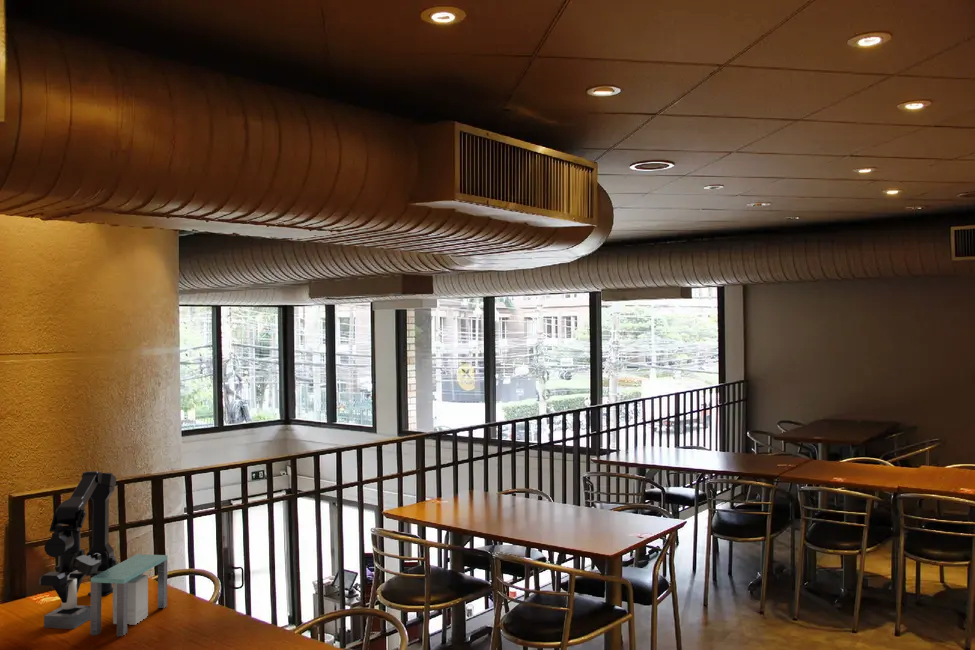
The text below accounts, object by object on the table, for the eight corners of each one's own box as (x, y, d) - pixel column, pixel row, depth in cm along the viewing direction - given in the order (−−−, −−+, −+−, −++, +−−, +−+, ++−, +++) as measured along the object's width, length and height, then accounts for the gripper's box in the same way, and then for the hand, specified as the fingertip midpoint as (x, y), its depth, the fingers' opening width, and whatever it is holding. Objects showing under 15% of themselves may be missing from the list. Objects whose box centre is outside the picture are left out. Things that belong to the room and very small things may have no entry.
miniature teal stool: (137, 605, 248) (137, 554, 248) (167, 607, 247) (167, 555, 247) (90, 634, 224) (90, 578, 224) (123, 636, 223) (123, 579, 223)
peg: (67, 604, 236) (67, 577, 236) (79, 604, 235) (79, 578, 235) (58, 609, 232) (58, 581, 232) (71, 609, 231) (71, 582, 231)
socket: (64, 616, 239) (64, 604, 239) (92, 617, 238) (93, 605, 238) (44, 627, 229) (44, 615, 229) (73, 629, 228) (73, 617, 228)
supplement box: (148, 616, 239) (149, 574, 239) (135, 625, 232) (135, 582, 232) (125, 615, 240) (126, 573, 240) (111, 624, 232) (112, 581, 232)
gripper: (75, 557, 223) (74, 612, 223) (113, 540, 242) (113, 590, 242) (38, 556, 225) (38, 610, 225) (79, 538, 243) (79, 589, 243)
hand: (69, 600), depth 234 cm, fingers closed on peg, 4 cm apart
